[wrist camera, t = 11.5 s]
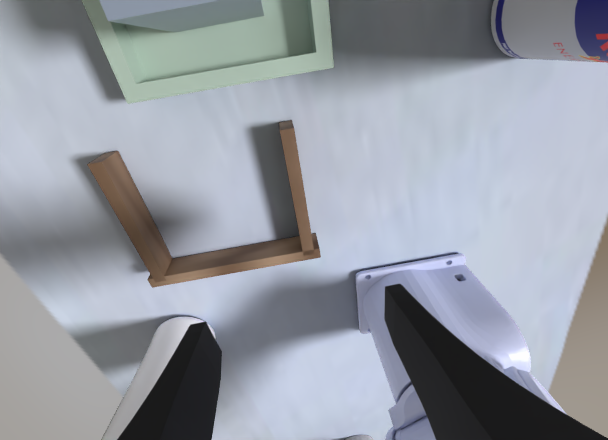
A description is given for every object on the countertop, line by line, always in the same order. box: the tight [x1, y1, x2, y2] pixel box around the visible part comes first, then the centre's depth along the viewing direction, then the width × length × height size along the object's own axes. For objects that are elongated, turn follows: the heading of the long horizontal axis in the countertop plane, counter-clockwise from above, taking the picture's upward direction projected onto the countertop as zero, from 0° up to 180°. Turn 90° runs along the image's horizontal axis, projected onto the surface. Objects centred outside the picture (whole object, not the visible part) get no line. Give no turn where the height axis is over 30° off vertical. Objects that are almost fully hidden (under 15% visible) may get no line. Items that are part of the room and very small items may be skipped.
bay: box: [87, 120, 321, 287], centre depth 19 cm, size 12×9×2 cm
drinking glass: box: [101, 317, 216, 440], centre depth 20 cm, size 7×7×15 cm
